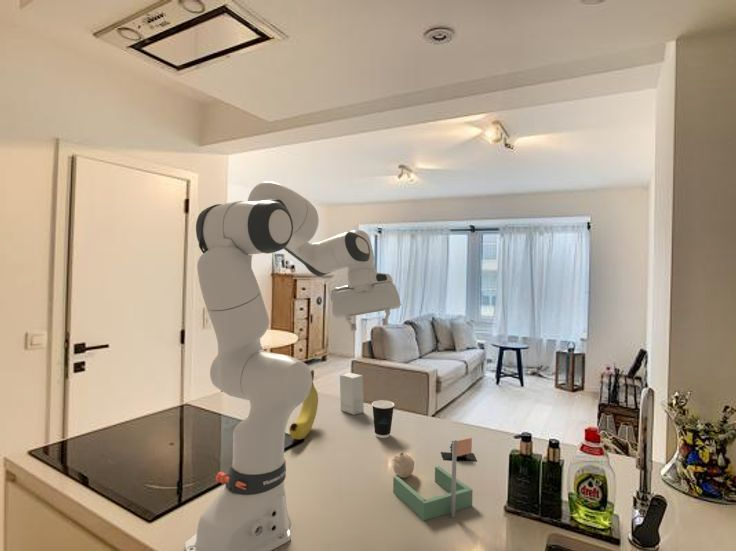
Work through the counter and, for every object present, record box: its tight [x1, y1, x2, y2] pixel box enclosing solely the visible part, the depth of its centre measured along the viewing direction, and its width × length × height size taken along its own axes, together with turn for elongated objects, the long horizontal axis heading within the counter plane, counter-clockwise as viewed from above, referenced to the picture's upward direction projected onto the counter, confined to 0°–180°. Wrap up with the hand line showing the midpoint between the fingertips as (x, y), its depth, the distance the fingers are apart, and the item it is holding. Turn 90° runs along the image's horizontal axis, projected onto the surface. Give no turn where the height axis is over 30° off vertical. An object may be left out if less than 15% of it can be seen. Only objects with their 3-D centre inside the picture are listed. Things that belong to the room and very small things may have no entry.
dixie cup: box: [371, 400, 395, 439], centre depth 149 cm, size 8×8×11 cm
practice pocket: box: [392, 437, 474, 521], centre depth 107 cm, size 16×14×18 cm
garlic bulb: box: [392, 451, 415, 479], centre depth 120 cm, size 7×6×8 cm
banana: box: [288, 369, 319, 440], centre depth 148 cm, size 23×6×20 cm, turn 171°
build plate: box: [440, 440, 478, 463], centre depth 133 cm, size 13×8×5 cm, turn 87°
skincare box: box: [339, 372, 365, 416], centre depth 173 cm, size 8×6×15 cm
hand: (369, 327), depth 124 cm, fingers open, 8 cm apart
